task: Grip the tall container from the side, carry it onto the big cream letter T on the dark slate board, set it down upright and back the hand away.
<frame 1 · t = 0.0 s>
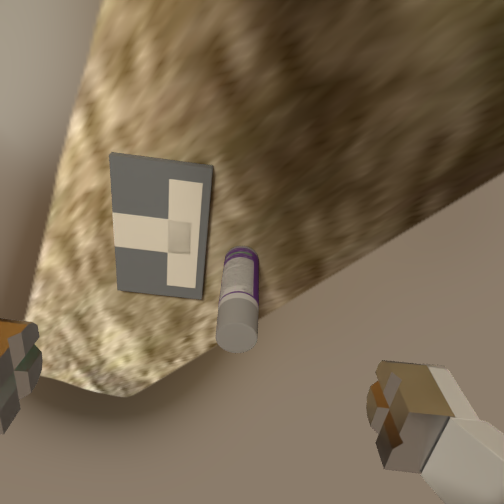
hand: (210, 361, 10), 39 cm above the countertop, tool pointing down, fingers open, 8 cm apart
letter board: (161, 231, 52), on the countertop
container: (241, 259, 55), on the countertop
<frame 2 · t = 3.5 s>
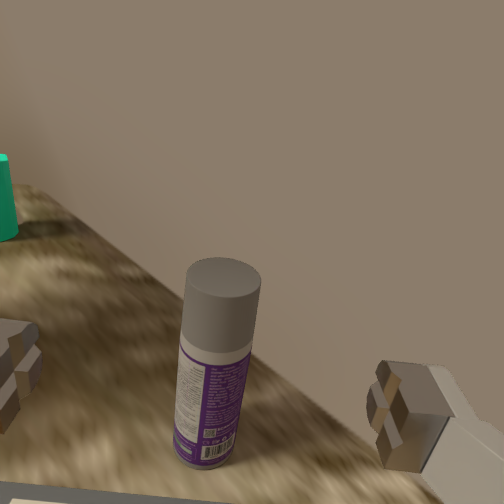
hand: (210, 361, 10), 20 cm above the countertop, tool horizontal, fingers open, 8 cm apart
container: (203, 443, 30), on the countertop
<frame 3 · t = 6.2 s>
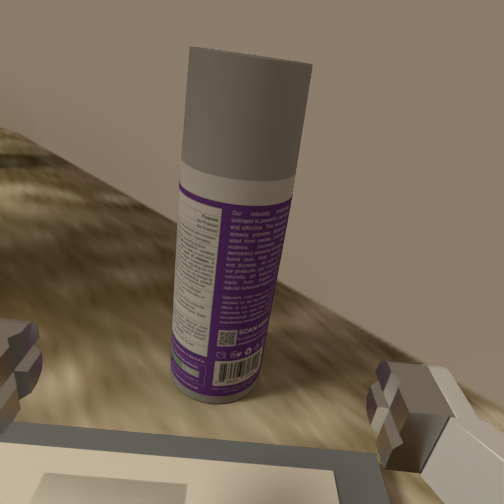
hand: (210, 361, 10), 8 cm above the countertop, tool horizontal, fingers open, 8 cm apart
container: (214, 372, 21), on the countertop
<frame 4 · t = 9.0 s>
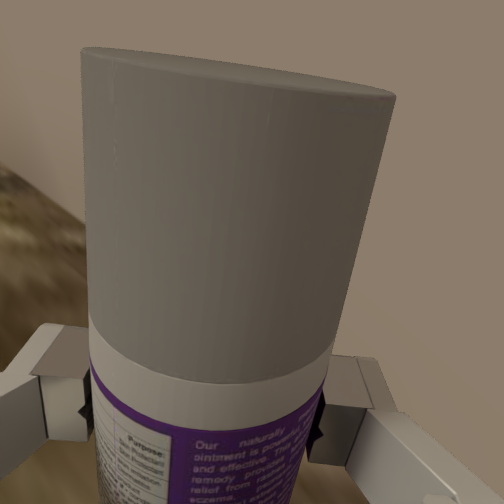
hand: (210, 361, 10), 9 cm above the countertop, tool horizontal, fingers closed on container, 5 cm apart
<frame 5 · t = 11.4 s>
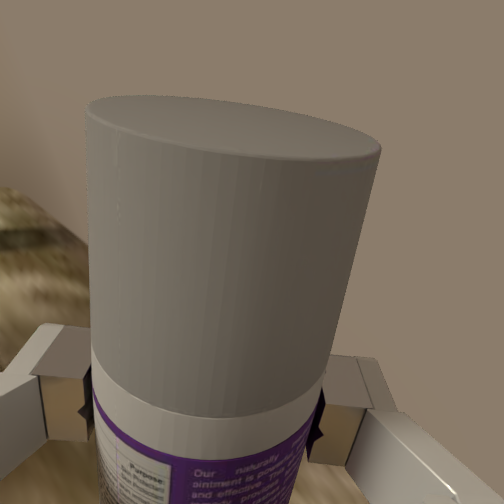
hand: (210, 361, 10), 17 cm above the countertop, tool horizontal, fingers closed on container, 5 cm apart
when the fingers open (10 cm above the countertop, at t = 14.2 s): container stays where it is, resting on letter board.
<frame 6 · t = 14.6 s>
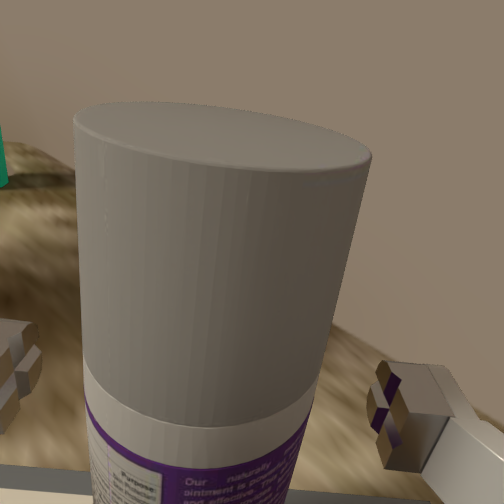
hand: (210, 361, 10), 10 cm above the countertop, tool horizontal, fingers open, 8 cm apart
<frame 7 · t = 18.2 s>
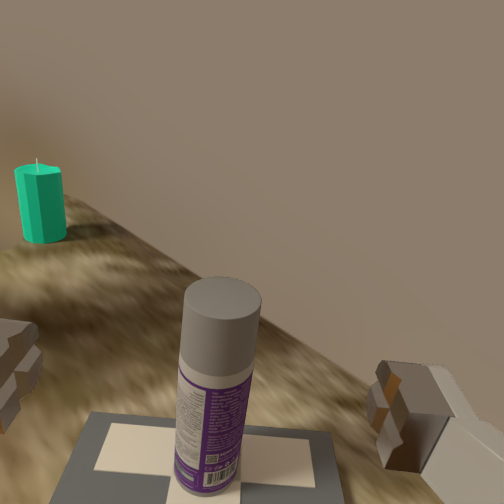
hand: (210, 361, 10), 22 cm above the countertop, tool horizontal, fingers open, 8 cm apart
letter board: (203, 501, 28), on the countertop
candle: (45, 236, 62), on the countertop
container: (205, 467, 29), point 1 cm above the countertop, touching letter board
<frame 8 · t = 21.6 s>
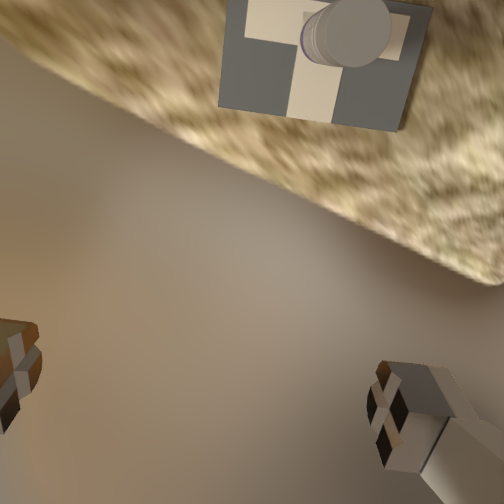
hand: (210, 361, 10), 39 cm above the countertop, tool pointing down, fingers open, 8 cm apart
letter board: (318, 59, 42), on the countertop
container: (322, 38, 40), point 1 cm above the countertop, touching letter board
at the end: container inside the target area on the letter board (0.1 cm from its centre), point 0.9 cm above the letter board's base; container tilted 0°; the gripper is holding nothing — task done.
